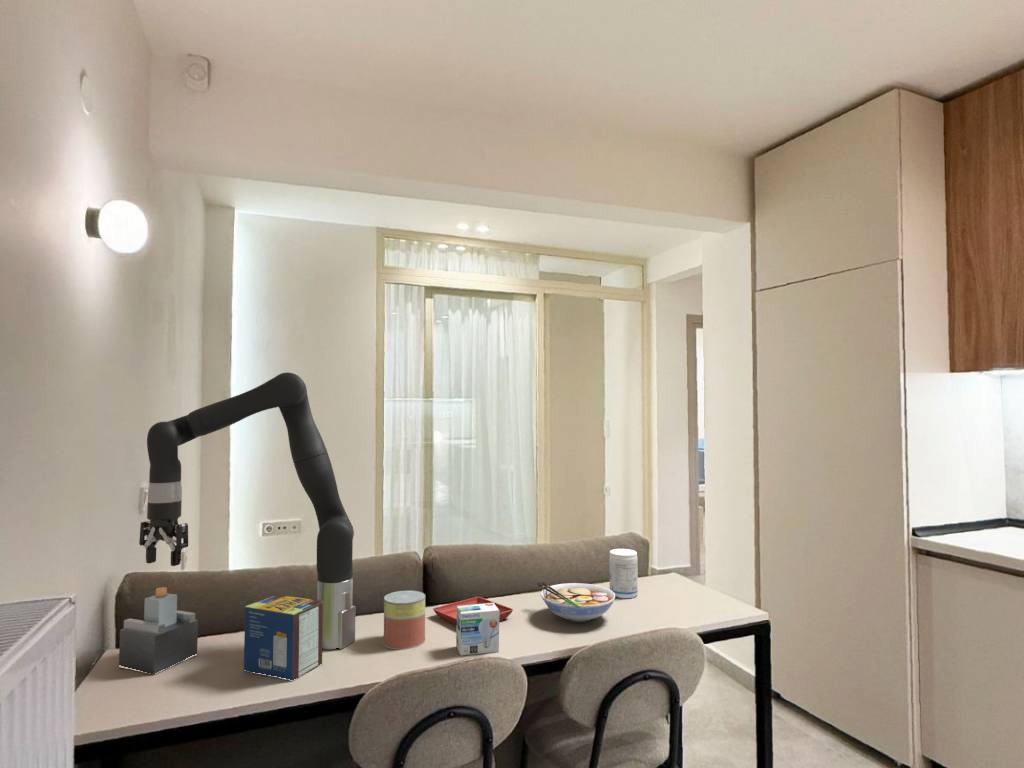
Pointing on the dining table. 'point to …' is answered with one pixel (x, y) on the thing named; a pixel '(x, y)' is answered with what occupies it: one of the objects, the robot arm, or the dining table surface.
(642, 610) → the dining table surface
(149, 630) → the grey ridged block
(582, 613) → the ramen bowl
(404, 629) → the canned food
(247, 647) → the protein box
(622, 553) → the supplement tub
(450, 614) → the plant saucer
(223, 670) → the dining table surface
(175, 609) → the block
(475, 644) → the light bulb box
